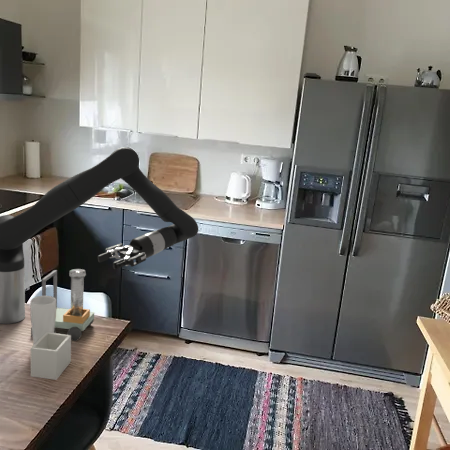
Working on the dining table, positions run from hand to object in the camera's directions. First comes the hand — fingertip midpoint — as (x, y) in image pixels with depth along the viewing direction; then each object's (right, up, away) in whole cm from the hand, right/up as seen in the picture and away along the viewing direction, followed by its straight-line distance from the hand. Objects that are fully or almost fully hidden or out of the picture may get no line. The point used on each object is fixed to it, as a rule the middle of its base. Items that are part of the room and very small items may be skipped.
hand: (105, 262), depth 142 cm
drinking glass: (-15, -24, -10) cm, 30 cm away
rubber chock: (-20, -22, -3) cm, 30 cm away
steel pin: (-9, -17, -1) cm, 19 cm away
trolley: (-12, -21, +2) cm, 25 cm away
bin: (-9, -27, -19) cm, 34 cm away
